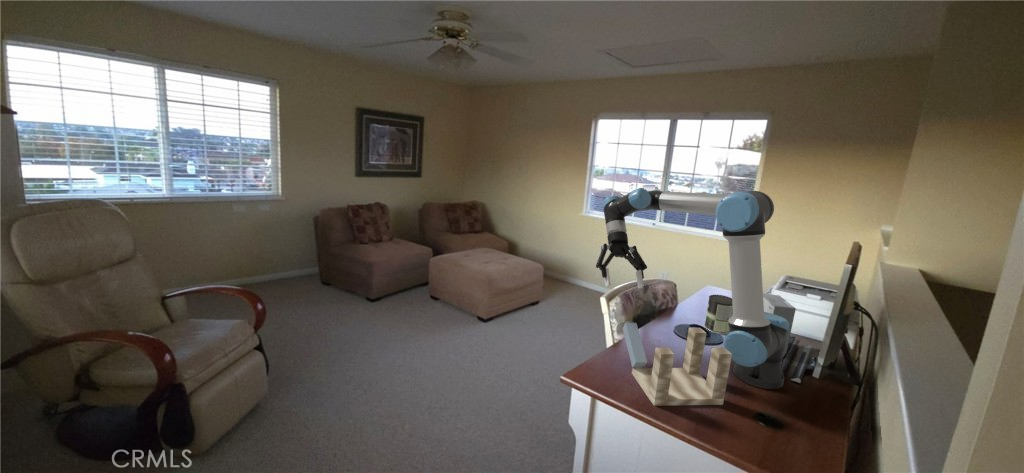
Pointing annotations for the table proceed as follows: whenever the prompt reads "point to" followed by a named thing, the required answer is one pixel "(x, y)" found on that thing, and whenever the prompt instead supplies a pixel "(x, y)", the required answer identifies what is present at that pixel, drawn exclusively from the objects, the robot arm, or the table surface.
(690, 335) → the upturned stool
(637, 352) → the pale blue upright post
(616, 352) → the table surface
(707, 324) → the coffee can
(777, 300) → the hard drive box
